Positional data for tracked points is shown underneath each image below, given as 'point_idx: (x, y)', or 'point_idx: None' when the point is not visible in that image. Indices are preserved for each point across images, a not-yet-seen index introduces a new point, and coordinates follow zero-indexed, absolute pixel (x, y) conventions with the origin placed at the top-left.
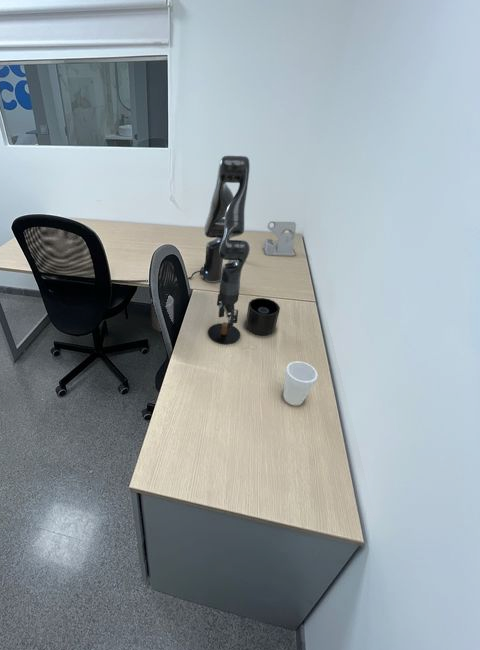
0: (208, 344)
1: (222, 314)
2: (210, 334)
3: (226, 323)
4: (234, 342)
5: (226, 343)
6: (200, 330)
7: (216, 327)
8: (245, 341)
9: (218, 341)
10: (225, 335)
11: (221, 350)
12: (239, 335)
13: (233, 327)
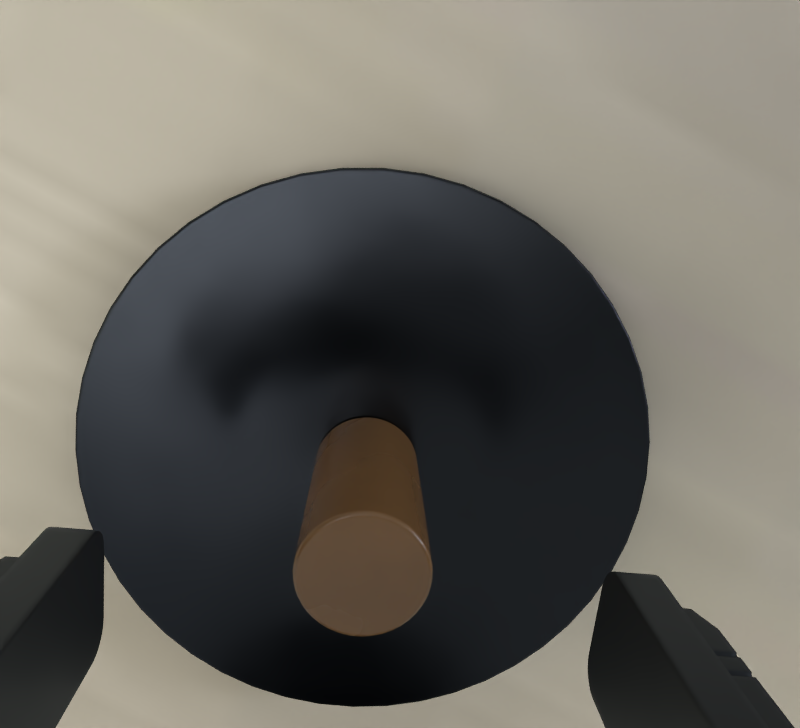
0: (234, 71)
1: (619, 695)
2: (427, 218)
3: (362, 612)
4: (89, 505)
5: (89, 366)
6: (655, 128)
7: (561, 421)
8: (107, 667)
9: (187, 260)
10: (297, 457)
11: (11, 215)
12: (213, 658)
13: (437, 672)
